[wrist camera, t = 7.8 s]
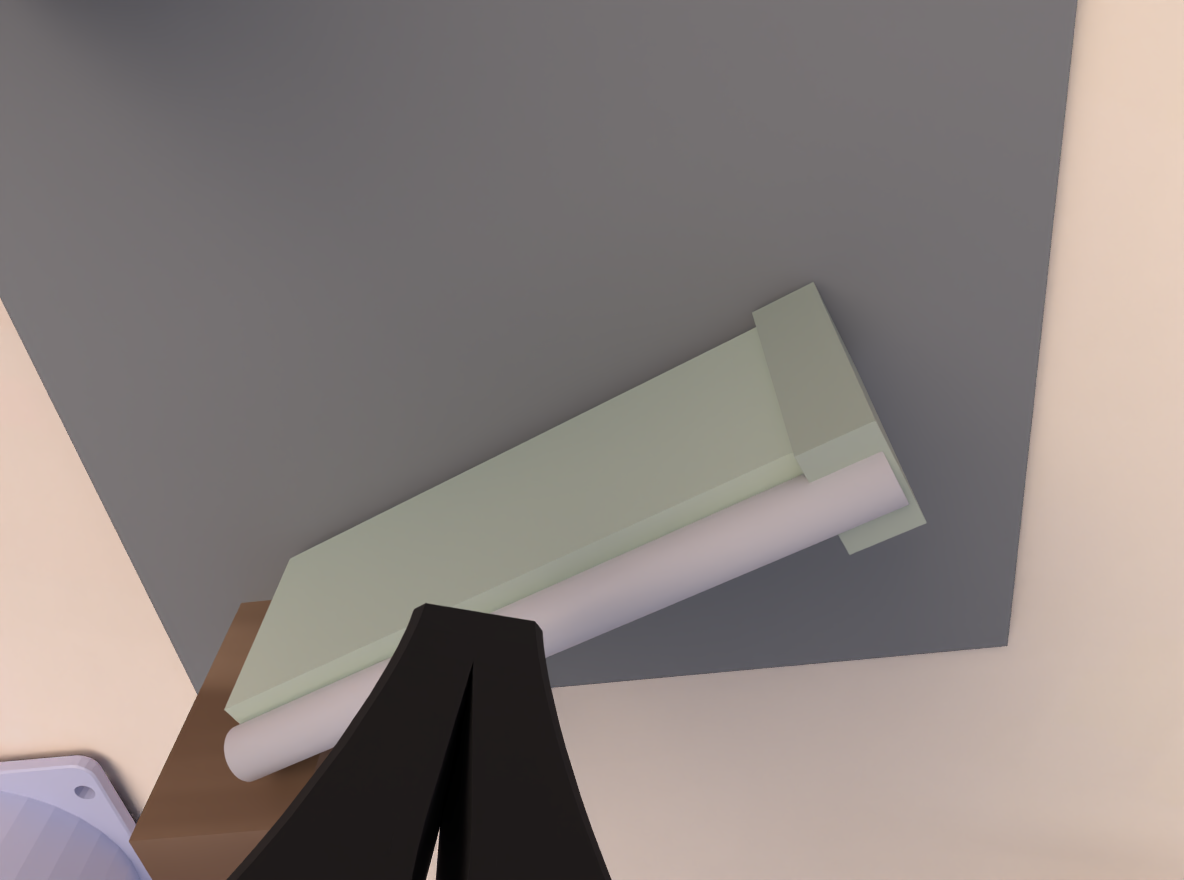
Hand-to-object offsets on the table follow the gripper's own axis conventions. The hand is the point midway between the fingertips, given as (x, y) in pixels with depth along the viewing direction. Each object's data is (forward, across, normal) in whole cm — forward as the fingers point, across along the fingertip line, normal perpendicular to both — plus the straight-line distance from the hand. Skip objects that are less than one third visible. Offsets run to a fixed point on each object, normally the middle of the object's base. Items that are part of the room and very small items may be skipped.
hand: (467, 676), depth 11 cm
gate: (+8, -1, +3) cm, 9 cm away
